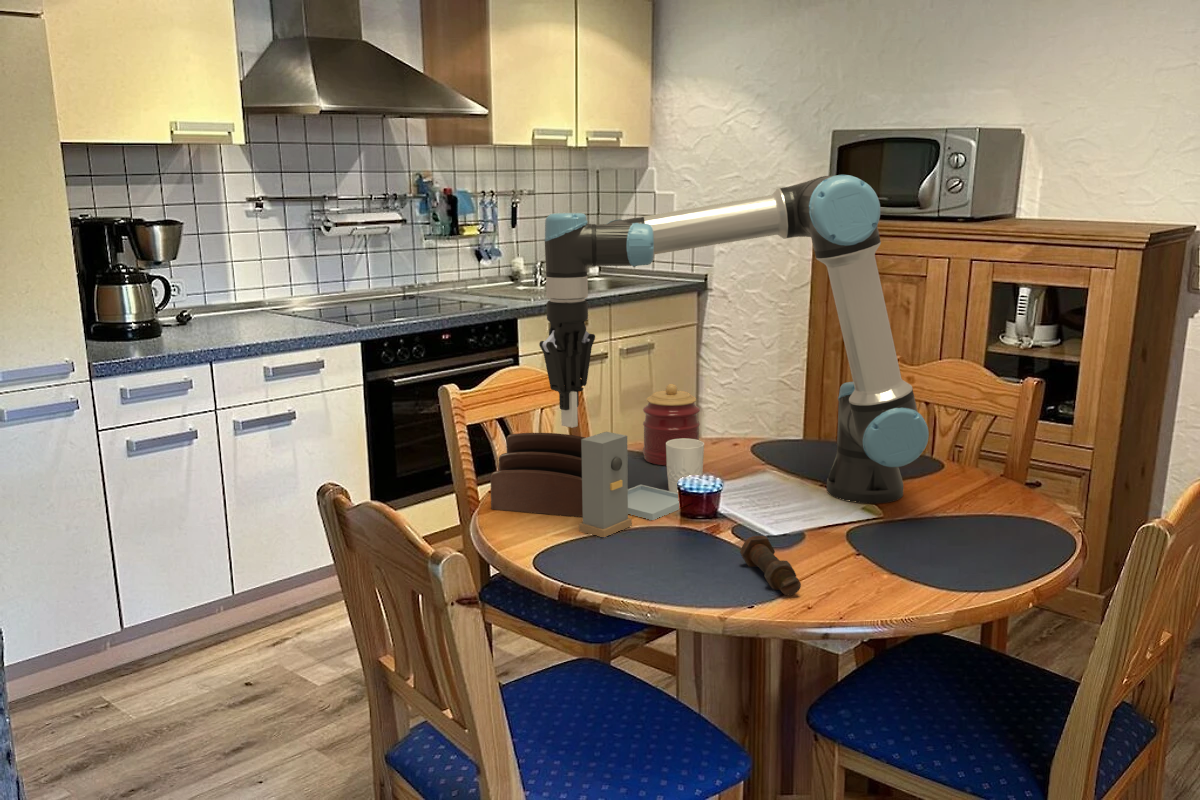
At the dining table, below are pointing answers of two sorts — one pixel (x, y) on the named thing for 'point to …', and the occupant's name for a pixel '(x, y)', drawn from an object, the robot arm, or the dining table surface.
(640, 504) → the tray
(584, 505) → the control box
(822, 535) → the dining table surface
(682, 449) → the white cup
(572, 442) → the letter holder
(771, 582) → the bolt
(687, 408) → the canister
